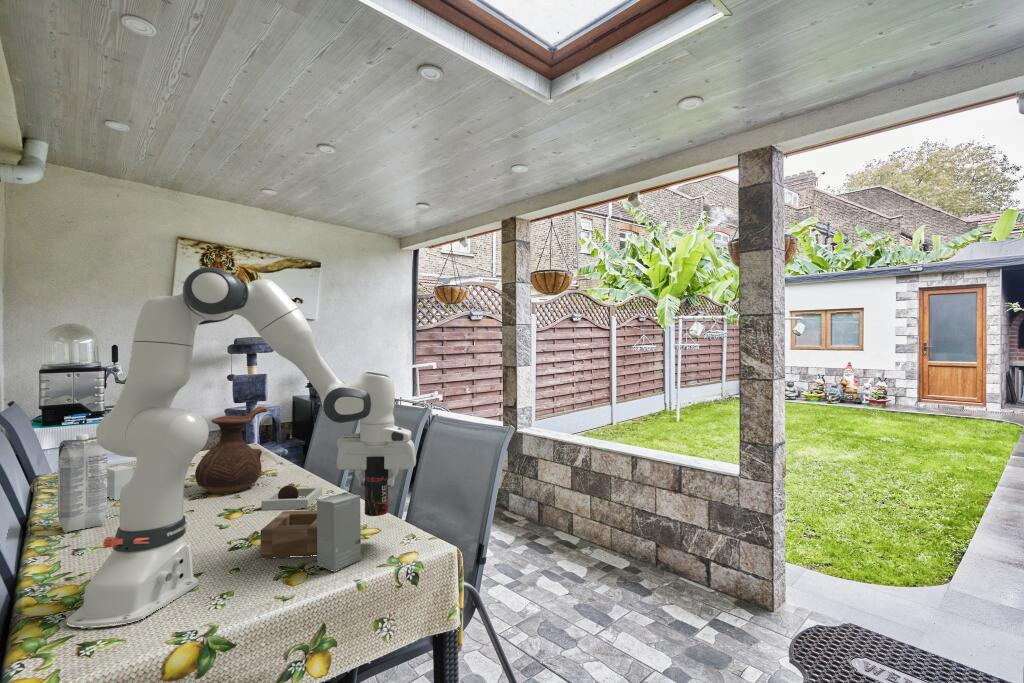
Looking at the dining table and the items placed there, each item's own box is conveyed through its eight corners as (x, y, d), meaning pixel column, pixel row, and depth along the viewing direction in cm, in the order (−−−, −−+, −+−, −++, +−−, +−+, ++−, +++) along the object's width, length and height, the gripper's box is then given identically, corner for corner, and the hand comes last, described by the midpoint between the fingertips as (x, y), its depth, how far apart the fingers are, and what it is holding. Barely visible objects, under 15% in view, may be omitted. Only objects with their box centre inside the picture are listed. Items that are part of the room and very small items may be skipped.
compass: (300, 500, 165) (300, 478, 165) (298, 506, 158) (298, 484, 158) (274, 502, 162) (274, 481, 163) (271, 509, 155) (271, 487, 155)
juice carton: (108, 525, 142) (108, 434, 143) (59, 535, 134) (60, 439, 135) (103, 518, 148) (104, 431, 149) (57, 528, 140) (57, 435, 141)
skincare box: (334, 573, 109) (333, 504, 110) (314, 566, 113) (314, 499, 114) (363, 559, 117) (363, 494, 117) (343, 553, 120) (343, 490, 121)
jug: (242, 498, 168) (242, 412, 168) (181, 498, 168) (181, 413, 169) (273, 481, 190) (273, 405, 190) (219, 481, 190) (219, 405, 190)
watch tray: (307, 508, 155) (307, 499, 155) (261, 510, 154) (261, 501, 154) (322, 495, 170) (322, 486, 170) (280, 496, 169) (280, 488, 169)
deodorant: (381, 516, 123) (381, 457, 123) (360, 515, 124) (360, 456, 125) (391, 509, 128) (392, 453, 129) (371, 508, 130) (372, 452, 130)
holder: (318, 556, 119) (318, 528, 119) (260, 558, 118) (260, 530, 118) (335, 534, 133) (335, 509, 133) (283, 536, 132) (283, 511, 132)
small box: (133, 497, 171) (133, 467, 171) (114, 501, 166) (114, 470, 166) (124, 493, 175) (124, 464, 175) (105, 497, 170) (105, 468, 170)
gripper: (333, 435, 123) (332, 489, 123) (413, 434, 124) (413, 488, 124) (340, 432, 129) (340, 483, 129) (417, 431, 131) (416, 482, 130)
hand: (376, 486), depth 126 cm, fingers closed on deodorant, 6 cm apart
